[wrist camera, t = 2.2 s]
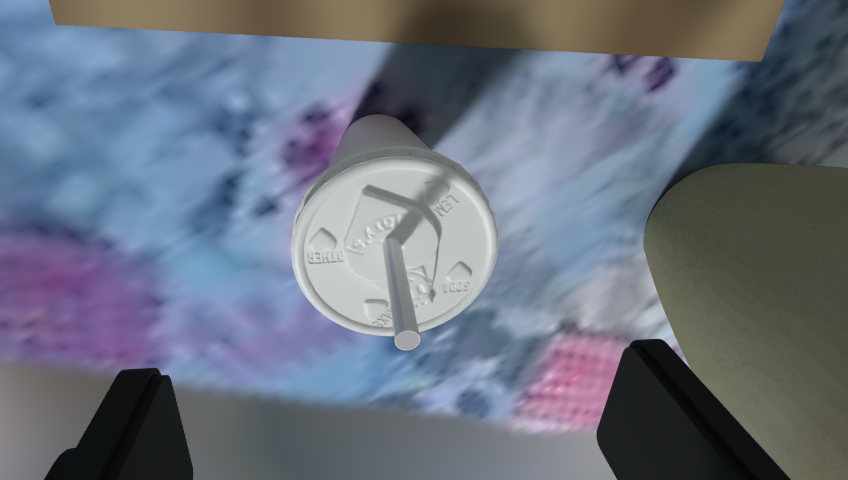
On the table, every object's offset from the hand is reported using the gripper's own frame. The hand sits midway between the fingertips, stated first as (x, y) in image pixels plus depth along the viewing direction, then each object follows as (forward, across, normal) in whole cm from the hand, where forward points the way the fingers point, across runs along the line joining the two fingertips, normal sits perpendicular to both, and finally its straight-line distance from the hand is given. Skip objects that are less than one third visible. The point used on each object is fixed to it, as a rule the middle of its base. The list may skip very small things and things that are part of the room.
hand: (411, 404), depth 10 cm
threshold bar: (+15, -2, -8) cm, 17 cm away
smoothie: (+15, 0, -1) cm, 15 cm away
